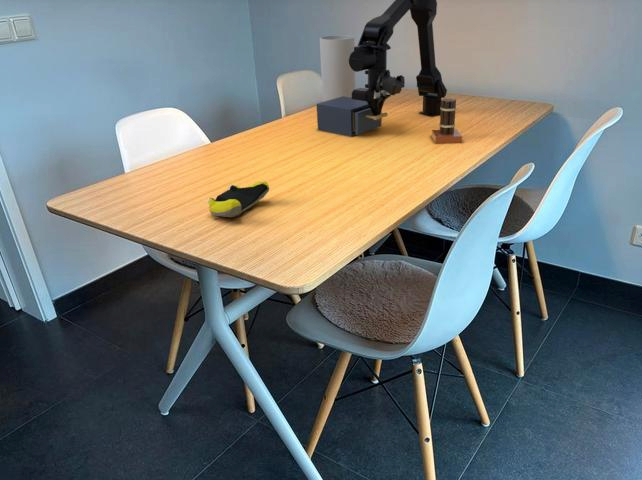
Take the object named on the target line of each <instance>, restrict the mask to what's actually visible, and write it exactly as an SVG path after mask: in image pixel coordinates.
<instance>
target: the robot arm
mask: <svg viewBox="0 0 642 480" xmlns="http://www.w3.org/2000/svg"><path fill="white" fill-rule="evenodd" d="M437 9H438V1H437V0H394V1H393V2H392V3H391V5H390V6H389V7H387V9H386V10H385V11H384V12H383V13H382V14H381V15H379V16H376V17H373V18H372V19H370V20H369V21H367V22H366V24H365V25H364V28H363V30H362V33H361V36H360V37H359V38H360V39H359V41H358V44H357V45H356V46H354V51H353V52H352V53H351V55H350V57H349V65H350V67H351V69H352V70H353V71H355V73H358V72H363V71H364V75H367V83H366V84H364V87H359V88H355V90H353V91H352V92H351V94H352V99H354V100H360V101H367V103H368V105H369V107H370V109H371V111H372V113H373V115H374V116H377V115H380V114H381V110H383V107H384V105H385V102H386V100H388V99H389V98H391V96H396V95H399V94H401V92H402V89H403V88H405V87H406V86H405V83H406V82H405V76H403V75H402V74H400V75H397V76H391V71H390V69H387V67H388V66H387V64H388V62H387V60H388V59H387V57H388V51H389V50H391V48H392V47H391V46H390V44H389V43H388V42H389V40H390V39H391V38H392V36H393V35H394V28H395V26H396V25H397V24H398V23H399V22H400V21H401V19H403V18H404V16H405V15H406V14H407V13H408V12H410V17H411V19H412V21H413V22H414V24H415V25H416V29H417V37H418V38H417V39H418V48H419V49H418V50H419V59H420V61H419V62H420V71H419V73H418V74H417V75H416V77H415V79H416V80H415V81H416V88H417V92H418V96H419V97H422V110H421V111H419V113H418V114H422V115H424V116H428V117H433V116H438V115H440V114H441V110H440V107H441V100H442V99H446V98H445V97H446V96H447V93H448V89H447V87H446V86H445V84H444V82H443V79H442V73H441V71H440V70H439V69H438V67H437V65H436V52H435V39H434V27H433V22H434V21H435V19H436V16H437V14H438V13H437V11H438V10H437Z"/></svg>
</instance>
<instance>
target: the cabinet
mask: <svg viewBox="0 0 642 480" xmlns="http://www.w3.org/2000/svg"><path fill="white" fill-rule="evenodd" d="M365 107H369V105H368V103H367V101H360V100H354V99H352V98H351V97H344V96H342V97H339V98H335V99H332V100H328V101H325V102H323V101H322V102H317V103H316V123H317V131H321V132H326V133H330V134H336V135H341V136H346V137H349V138H350V137H355V136H357V134H355V132H353V114H352V112H353V111H356V110H359V109H362V108H365Z"/></svg>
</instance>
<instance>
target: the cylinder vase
mask: <svg viewBox="0 0 642 480" xmlns="http://www.w3.org/2000/svg"><path fill="white" fill-rule="evenodd" d="M354 47H355V36H353V35H343V34H341V35H340V34H339V35H325V36H321V37H319V51H320V52H319V53H320V74H321V75H320V77H321V92H322V93H321V96H322V97H321V98H322V102H325V101H328V100H332V99H335V98H339V97H342V96H344V97H351V98H352V94H351V92H352V91H353V90H355V89H356V72H355V71H353V70H352V69H351V67H350V65H349V57H350V55H351V53H352V52H353V51H354Z"/></svg>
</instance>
